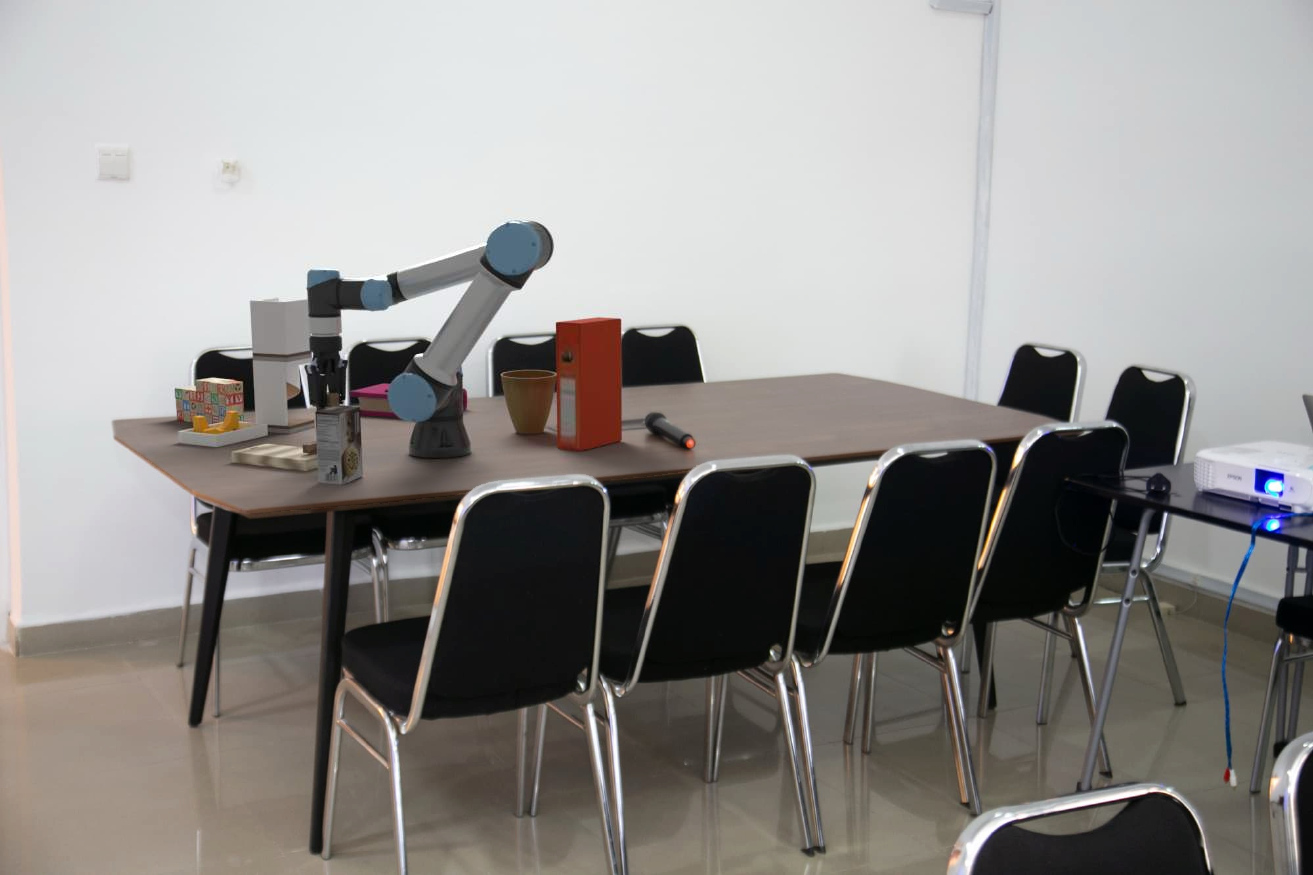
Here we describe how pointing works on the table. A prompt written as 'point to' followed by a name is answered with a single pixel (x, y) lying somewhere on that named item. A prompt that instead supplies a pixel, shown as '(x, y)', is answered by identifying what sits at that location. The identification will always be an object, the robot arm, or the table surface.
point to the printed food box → (339, 444)
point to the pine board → (276, 457)
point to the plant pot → (529, 398)
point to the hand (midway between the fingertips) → (329, 432)
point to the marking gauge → (331, 401)
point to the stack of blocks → (210, 400)
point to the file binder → (588, 383)
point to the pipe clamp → (228, 425)
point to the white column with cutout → (279, 360)
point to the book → (381, 400)
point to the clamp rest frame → (223, 435)
